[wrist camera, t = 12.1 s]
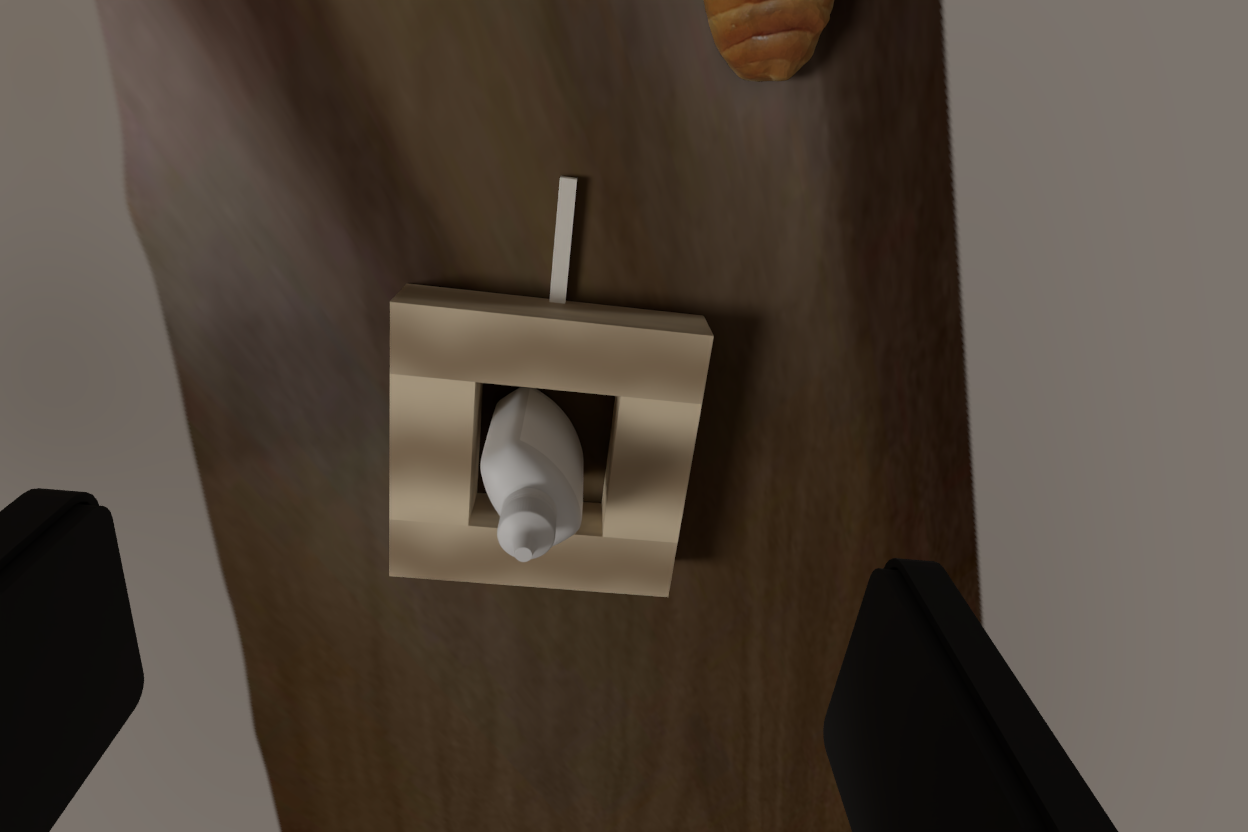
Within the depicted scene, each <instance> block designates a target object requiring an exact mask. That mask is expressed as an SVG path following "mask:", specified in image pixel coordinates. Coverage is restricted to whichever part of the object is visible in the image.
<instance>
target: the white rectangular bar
mask: <svg viewBox="0 0 1248 832" xmlns="http://www.w3.org/2000/svg"><path fill="white" fill-rule="evenodd" d="M576 186H577V178H574V177H566V176H560V183H559V195H558V207H557V218H556V230H555V241H554V253H553V265H552V276H551V288H550V299H549V302H554V303H563V304H565V302H566V292H567V281H568V271H569V260H570V250H571V239H572V228H573V218H574V207H575V197H576Z"/></svg>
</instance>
